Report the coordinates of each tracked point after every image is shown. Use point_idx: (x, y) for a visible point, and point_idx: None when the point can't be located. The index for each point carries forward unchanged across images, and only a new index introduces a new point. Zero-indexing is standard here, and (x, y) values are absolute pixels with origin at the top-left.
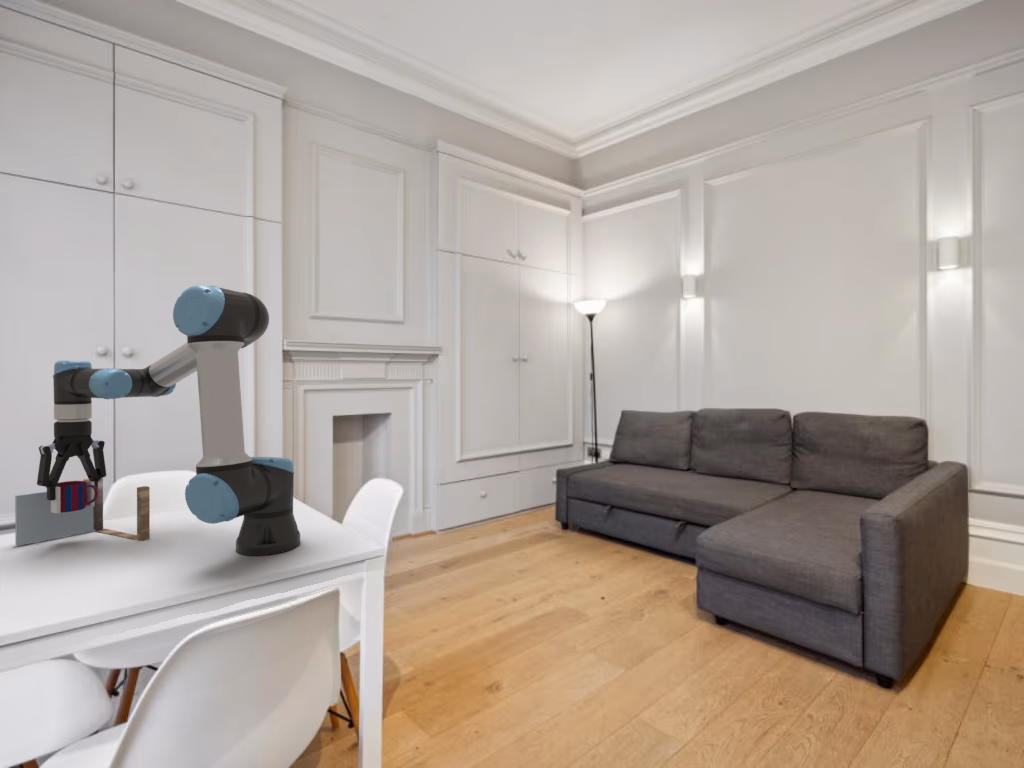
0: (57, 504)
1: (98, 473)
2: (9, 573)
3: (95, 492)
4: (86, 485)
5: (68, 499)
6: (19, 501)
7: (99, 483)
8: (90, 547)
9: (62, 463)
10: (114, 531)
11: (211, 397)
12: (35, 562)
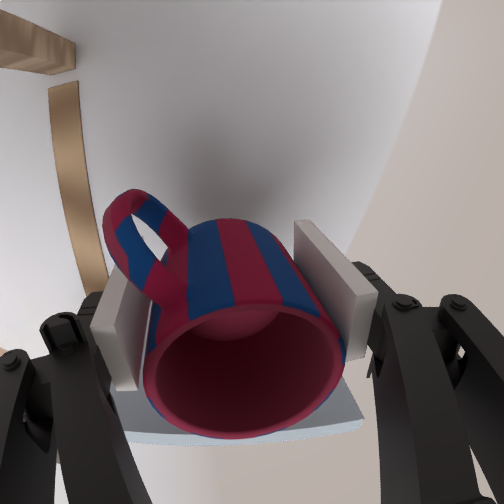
0: (324, 239)
1: (42, 405)
2: (418, 73)
3: (128, 194)
4: (163, 286)
5: (272, 251)
6: (348, 402)
7: None
8: (199, 108)
9: (452, 471)
10: (76, 239)
11: None
12: (357, 101)
